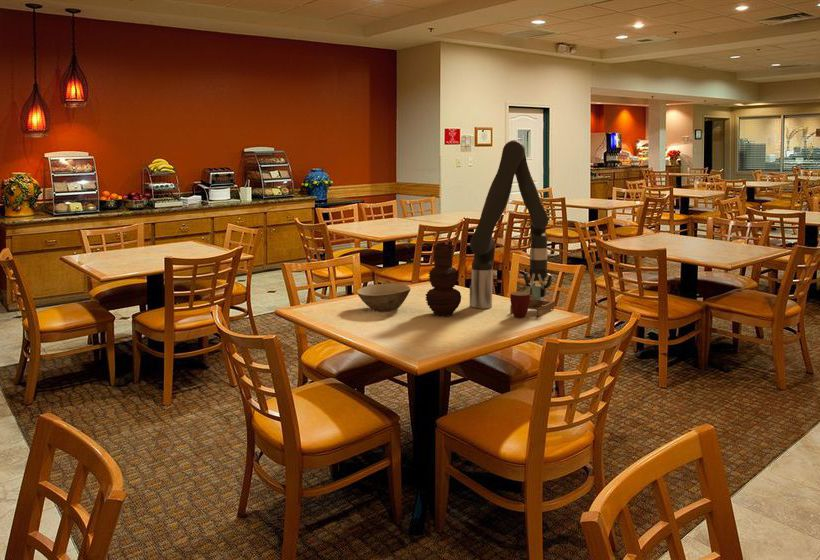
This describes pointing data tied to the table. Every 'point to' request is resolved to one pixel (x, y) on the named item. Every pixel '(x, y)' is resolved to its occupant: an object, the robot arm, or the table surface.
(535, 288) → the tea tin
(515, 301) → the mug
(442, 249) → the vase
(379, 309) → the bowl
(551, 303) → the caddy
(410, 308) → the table surface
